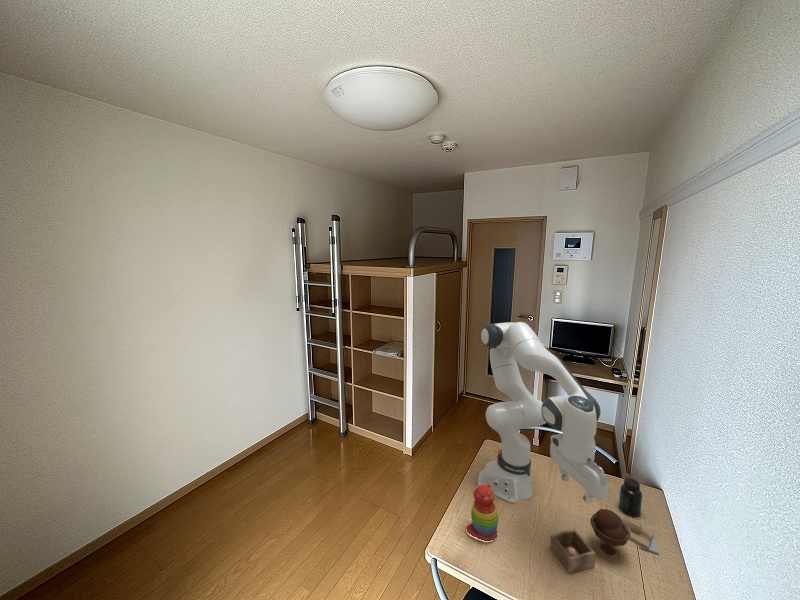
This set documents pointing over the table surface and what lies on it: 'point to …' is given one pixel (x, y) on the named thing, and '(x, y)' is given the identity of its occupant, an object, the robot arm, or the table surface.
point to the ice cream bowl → (609, 530)
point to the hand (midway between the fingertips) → (575, 490)
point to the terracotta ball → (571, 551)
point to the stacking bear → (483, 514)
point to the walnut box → (574, 540)
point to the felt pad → (653, 545)
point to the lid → (638, 532)
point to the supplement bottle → (630, 497)
